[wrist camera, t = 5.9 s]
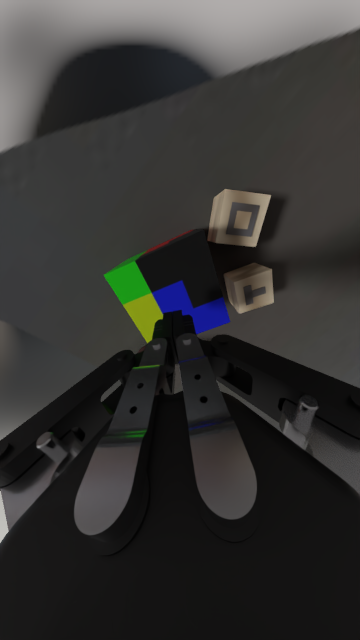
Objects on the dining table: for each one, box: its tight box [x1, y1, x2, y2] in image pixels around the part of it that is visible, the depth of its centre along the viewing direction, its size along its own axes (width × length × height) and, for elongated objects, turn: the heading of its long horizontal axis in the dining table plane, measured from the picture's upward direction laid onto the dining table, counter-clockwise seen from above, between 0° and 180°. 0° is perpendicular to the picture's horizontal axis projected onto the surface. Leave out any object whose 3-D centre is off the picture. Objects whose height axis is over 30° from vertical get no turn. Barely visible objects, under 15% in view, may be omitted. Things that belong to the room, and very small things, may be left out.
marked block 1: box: [207, 189, 271, 247], centre depth 20 cm, size 5×5×5 cm
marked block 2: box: [223, 263, 274, 313], centre depth 24 cm, size 5×5×5 cm
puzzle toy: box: [104, 229, 230, 343], centre depth 21 cm, size 10×10×10 cm
